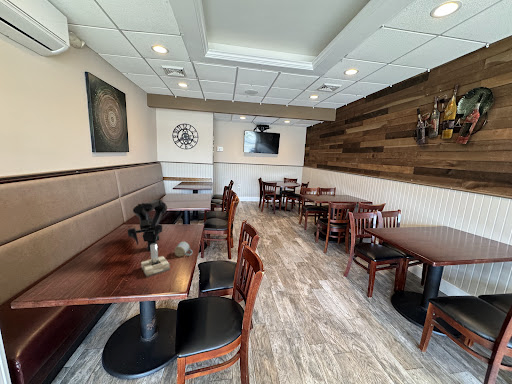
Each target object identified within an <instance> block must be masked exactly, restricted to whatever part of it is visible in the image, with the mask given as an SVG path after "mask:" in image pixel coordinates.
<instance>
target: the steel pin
mask: <svg viewBox="0 0 512 384" xmlns="http://www.w3.org/2000/svg"><path fill="white" fill-rule="evenodd" d="M157 247H158V243H153V244H150V250H151V251H150V259H151V263H152V266H153V265H156V264H159V262H158V257H159V249H157Z"/></svg>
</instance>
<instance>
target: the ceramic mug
mask: <svg viewBox="0 0 512 384" xmlns="http://www.w3.org/2000/svg"><path fill="white" fill-rule="evenodd" d="M173 252H174V255H175V256H177V257H184V256H187V257H188V256H189V257H190V256H192V254H193V250H192V249H191V248H190V244H189V243H188V242H186V241H180V242H178V244H177V245H176V246H175V248H174V251H173ZM188 252H190V253H188Z"/></svg>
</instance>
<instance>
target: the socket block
mask: <svg viewBox="0 0 512 384" xmlns="http://www.w3.org/2000/svg"><path fill="white" fill-rule="evenodd" d="M158 262H159V264H156V265H153V266H152V263H151V258H150V259H146V260H143V261H141V262H140V264H141V266H140V267H141V270H142V272H143V273H144V276H146V278H150V277H152V276H155V275H159V274H162V273H164V272H167V271H170V270H171V268H170V262H168V259H166V258H165V257H164V255H160V256H158Z"/></svg>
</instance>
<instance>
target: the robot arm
mask: <svg viewBox="0 0 512 384" xmlns="http://www.w3.org/2000/svg"><path fill="white" fill-rule="evenodd" d="M167 210H168V206H167V204H166V203H165V202H164V201H162V199H154V200H152V201H149V202H141V203H138V204H137V205H136V206H135V207H133V209H132V212H133V213H134V214H135V216H137V217H138V218H139V228H140V229H136V228H135V227H134V228H128V229H127V236H128V237H130V238H131V239H132V238H133V240H134V241H135V243H136V244H137V246H138V245H139V241H138V235H137V234H139V233H141V234H142V233H143V234H142V239H143V242H144V243H145V242H146V243H147V247H146V250H147V251H148V252H151V250H150V244H153V243H157V242H158V241H160V235H159V234H161V233H163V225H162V224H160V221H161V219H162V217H163V215H165V214H166V212H167ZM153 211H154V212H155V213H154V216H153V218H151V217H150V213H152V212H153ZM157 244H158V243H157ZM157 249H158V250H159V247H158V246H157Z"/></svg>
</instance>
